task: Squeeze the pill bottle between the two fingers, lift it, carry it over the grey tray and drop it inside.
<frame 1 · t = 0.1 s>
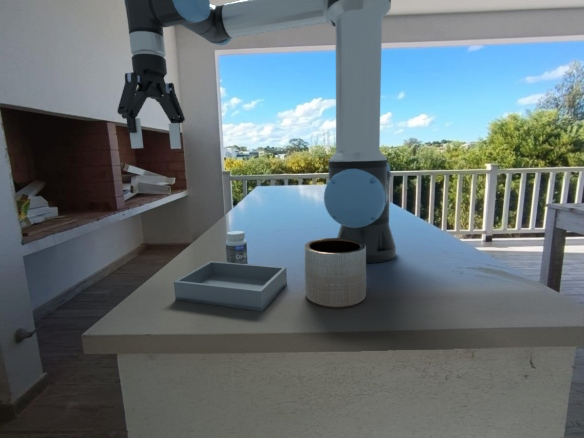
hand: (158, 148, 83), 28 cm above the worktop, fingers open, 13 cm apart
pill bottle: (237, 268, 78), on the worktop
grey tray: (233, 291, 64), on the worktop
planter: (335, 297, 61), on the worktop
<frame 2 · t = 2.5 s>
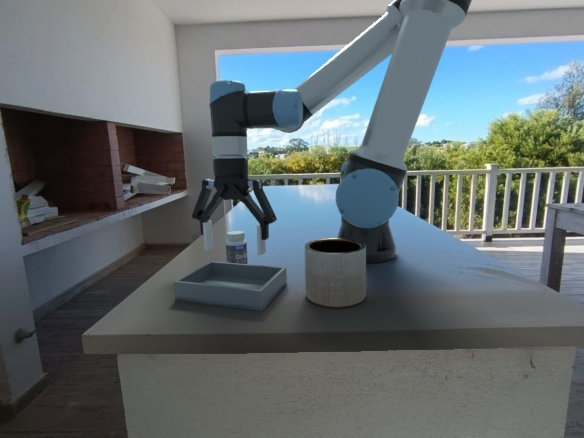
hand: (234, 251, 77), 4 cm above the worktop, fingers open, 13 cm apart
nothing on the worktop moved.
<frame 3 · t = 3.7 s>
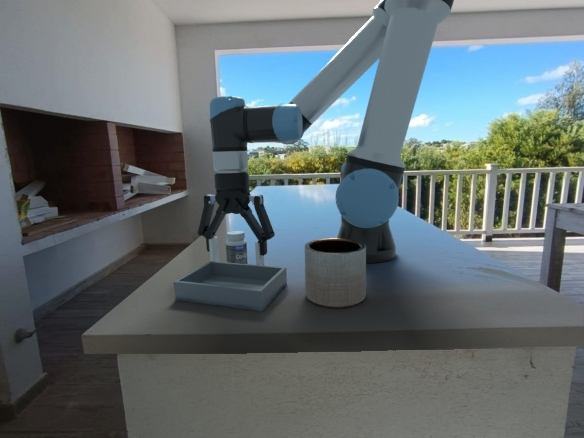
hand: (237, 266, 78), 0 cm above the worktop, fingers open, 11 cm apart
nothing on the worktop moved.
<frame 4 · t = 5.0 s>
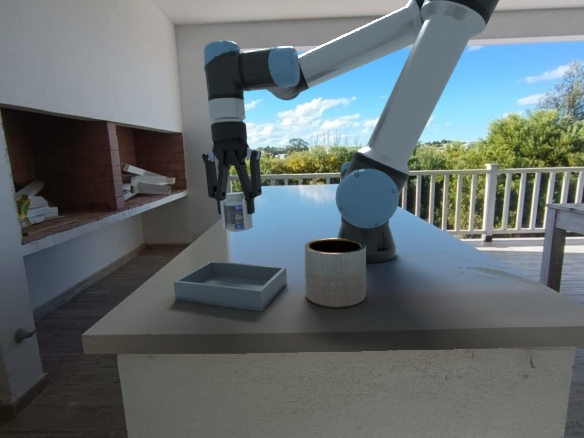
hand: (237, 228, 76), 9 cm above the worktop, fingers closed on pill bottle, 5 cm apart
pill bottle: (238, 230, 76), point 9 cm above the worktop, touching gripper
everything else where it was.
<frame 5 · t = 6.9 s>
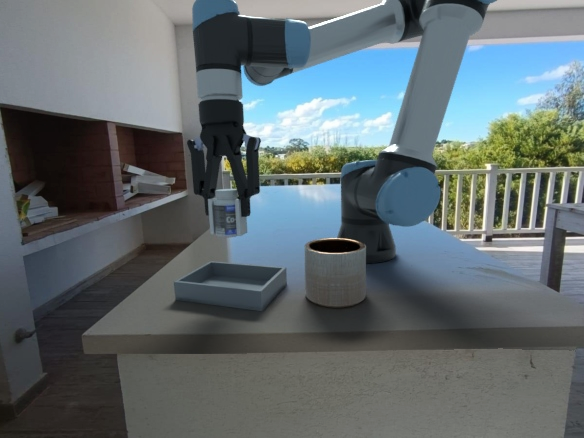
hand: (229, 233, 62), 11 cm above the worktop, fingers closed on pill bottle, 5 cm apart
pill bottle: (229, 236, 62), point 11 cm above the worktop, touching gripper
everything else where it was.
when the fingers open (2 cm above the worktop, at t = 8.9 s): pill bottle stays where it is, resting on grey tray.
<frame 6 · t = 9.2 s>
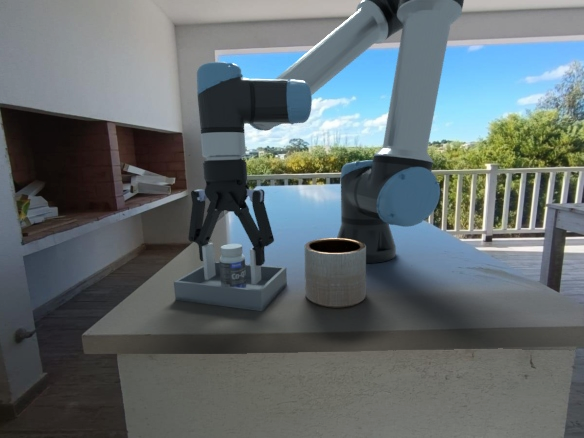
hand: (232, 279, 63), 3 cm above the worktop, fingers open, 9 cm apart
pill bottle: (234, 289, 64), resting on grey tray
everything else where it was.
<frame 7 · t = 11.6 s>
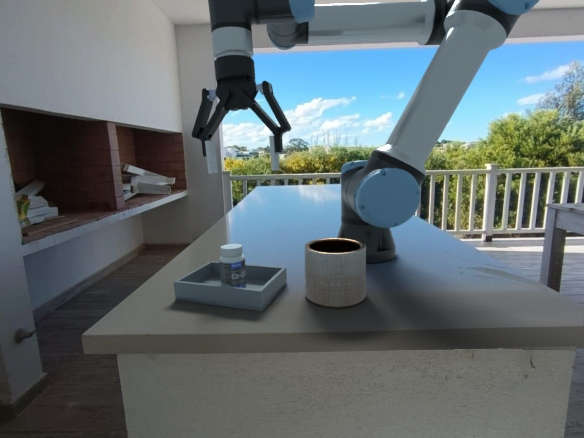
hand: (243, 171, 67), 22 cm above the worktop, fingers open, 13 cm apart
nothing on the worktop moved.
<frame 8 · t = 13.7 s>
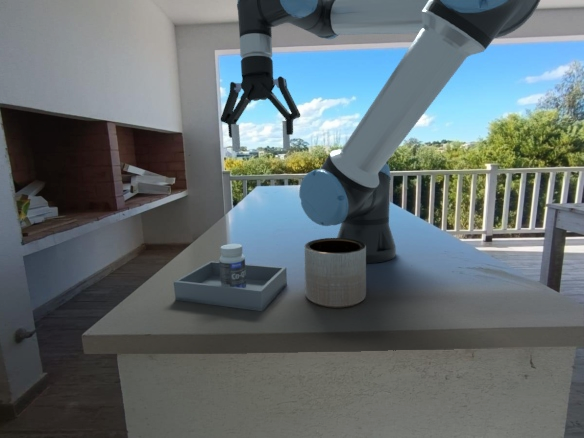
hand: (261, 150, 83), 27 cm above the worktop, fingers open, 13 cm apart
nothing on the worktop moved.
at the end: pill bottle inside the target area on the grey tray (0.1 cm from its centre), point 0.4 cm above the grey tray's base; the gripper is holding nothing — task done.
